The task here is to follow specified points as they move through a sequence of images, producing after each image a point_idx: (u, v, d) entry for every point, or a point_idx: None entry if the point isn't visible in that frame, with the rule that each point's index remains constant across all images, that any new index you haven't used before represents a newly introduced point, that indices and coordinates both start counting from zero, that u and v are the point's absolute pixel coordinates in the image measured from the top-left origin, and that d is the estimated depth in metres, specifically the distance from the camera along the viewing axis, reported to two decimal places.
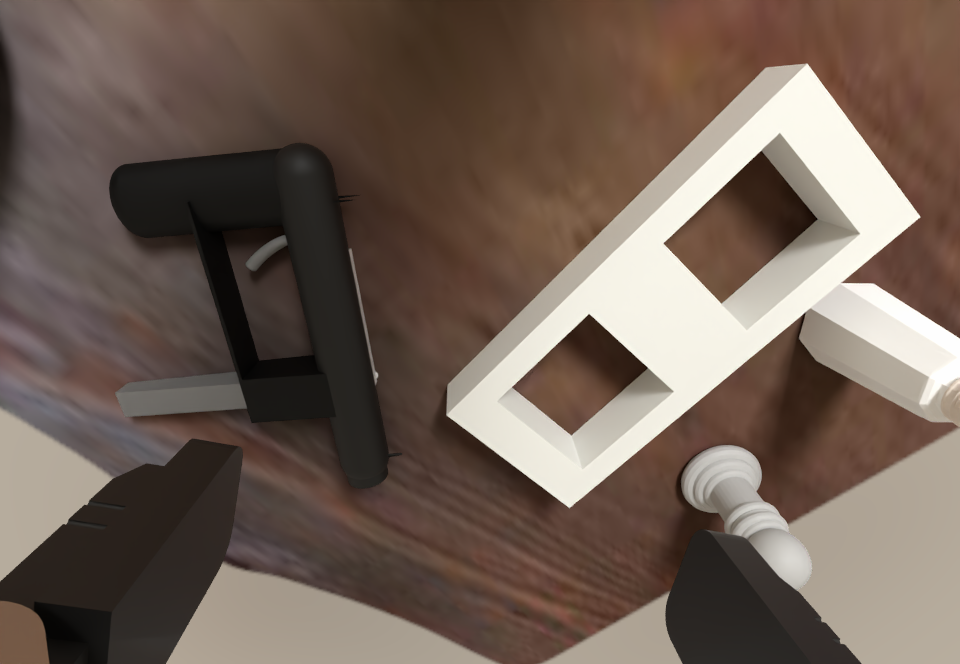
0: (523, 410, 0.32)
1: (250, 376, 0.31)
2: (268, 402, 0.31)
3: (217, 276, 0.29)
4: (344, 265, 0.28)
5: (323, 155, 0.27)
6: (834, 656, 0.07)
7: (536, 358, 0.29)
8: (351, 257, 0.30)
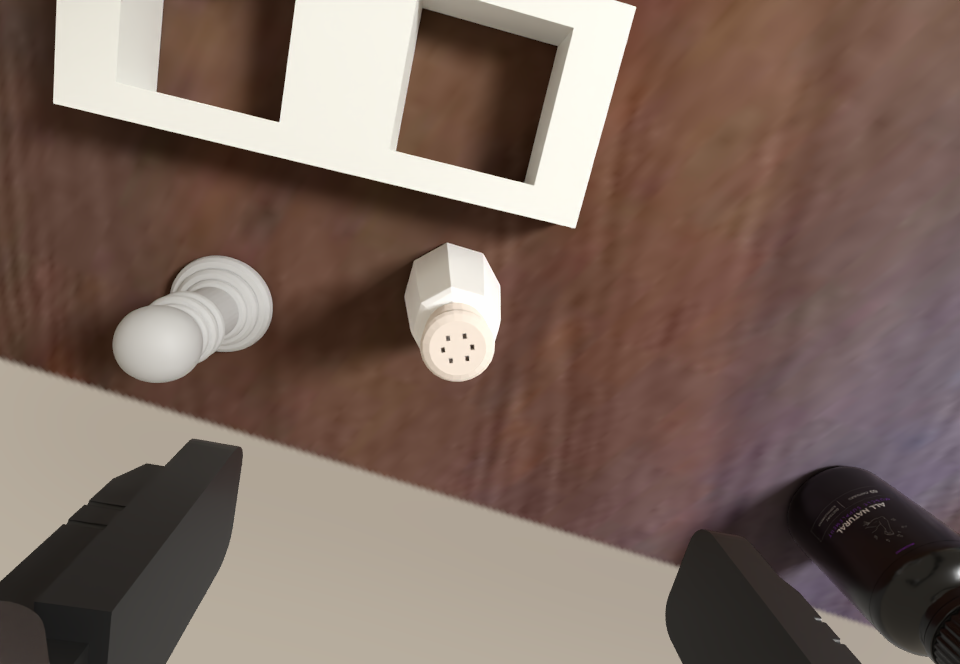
0: None
1: None
2: None
3: None
4: None
5: None
6: (834, 656, 0.07)
7: None
8: None
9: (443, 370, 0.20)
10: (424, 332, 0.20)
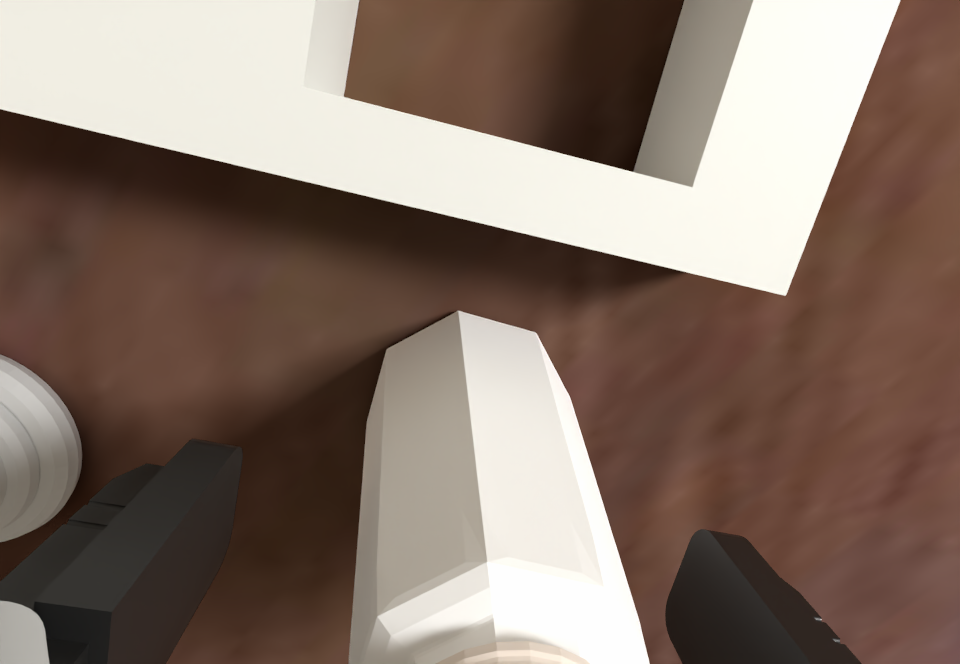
0: None
1: None
2: None
3: None
4: None
5: None
6: (834, 656, 0.07)
7: None
8: None
9: None
10: None
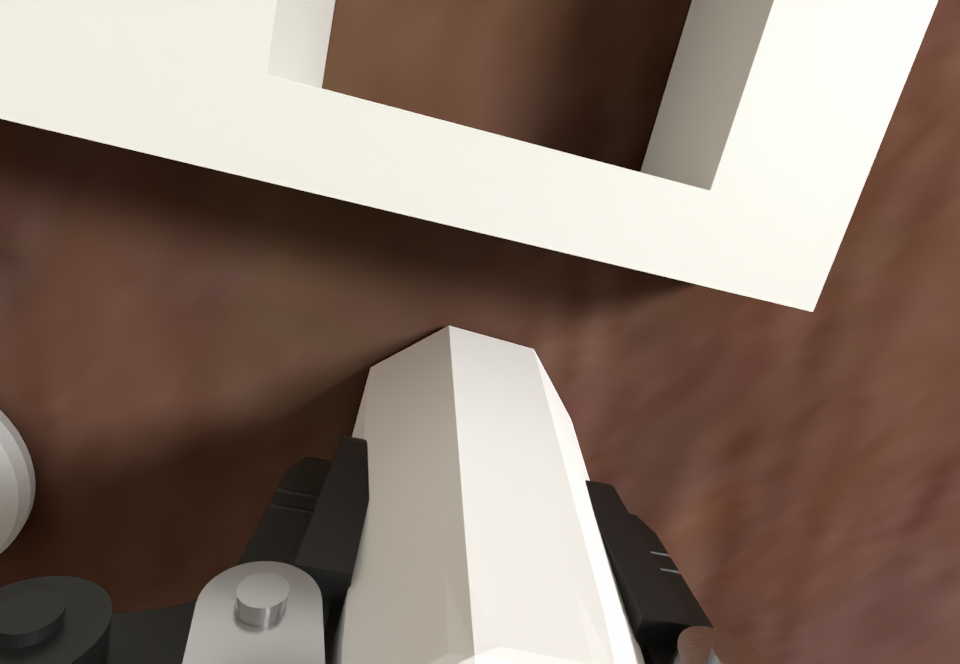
0: None
1: None
2: None
3: None
4: None
5: None
6: (652, 577, 0.08)
7: None
8: None
9: None
10: None
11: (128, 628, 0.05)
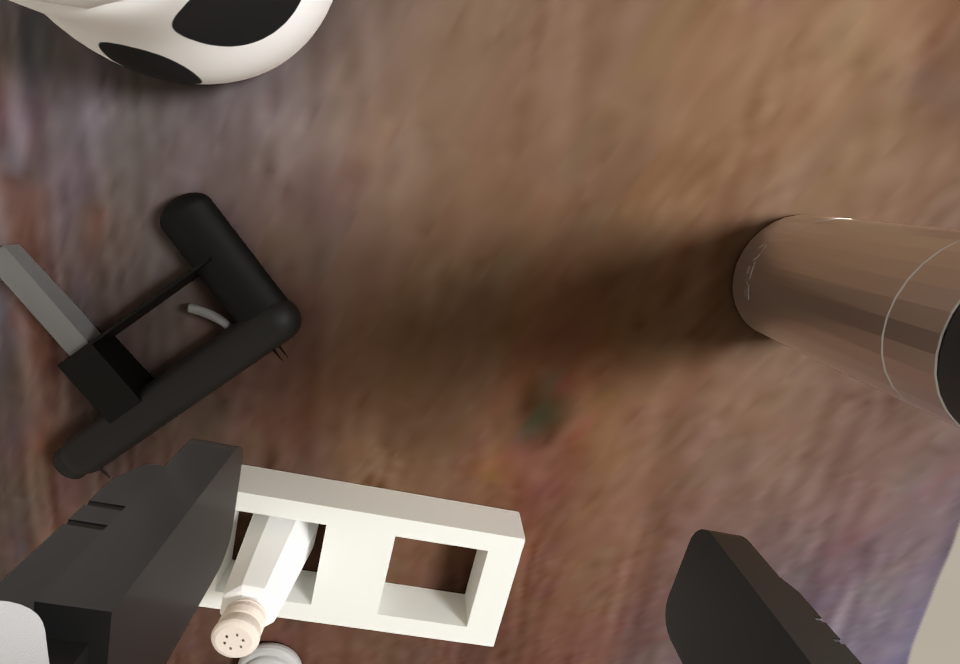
0: None
1: (99, 347, 0.36)
2: (85, 370, 0.36)
3: (167, 293, 0.36)
4: (233, 374, 0.37)
5: (298, 327, 0.37)
6: (834, 656, 0.07)
7: (275, 513, 0.39)
8: None
9: (226, 653, 0.33)
10: (212, 632, 0.32)
11: None
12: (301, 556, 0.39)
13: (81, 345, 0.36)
